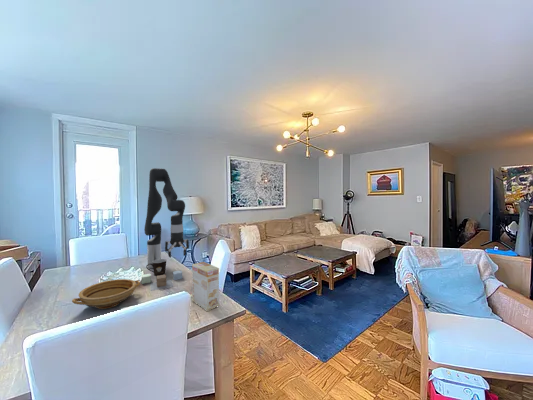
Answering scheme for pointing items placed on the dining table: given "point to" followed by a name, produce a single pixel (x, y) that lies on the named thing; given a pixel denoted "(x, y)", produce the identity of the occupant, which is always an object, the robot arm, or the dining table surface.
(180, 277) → the brick slate
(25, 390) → the dining table surface
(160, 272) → the coffee mug
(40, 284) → the dining table surface
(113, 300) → the ceramic bowl
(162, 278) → the brick base
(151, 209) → the robot arm
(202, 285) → the coffeecake box
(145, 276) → the brick sage
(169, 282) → the build plate
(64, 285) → the dining table surface
